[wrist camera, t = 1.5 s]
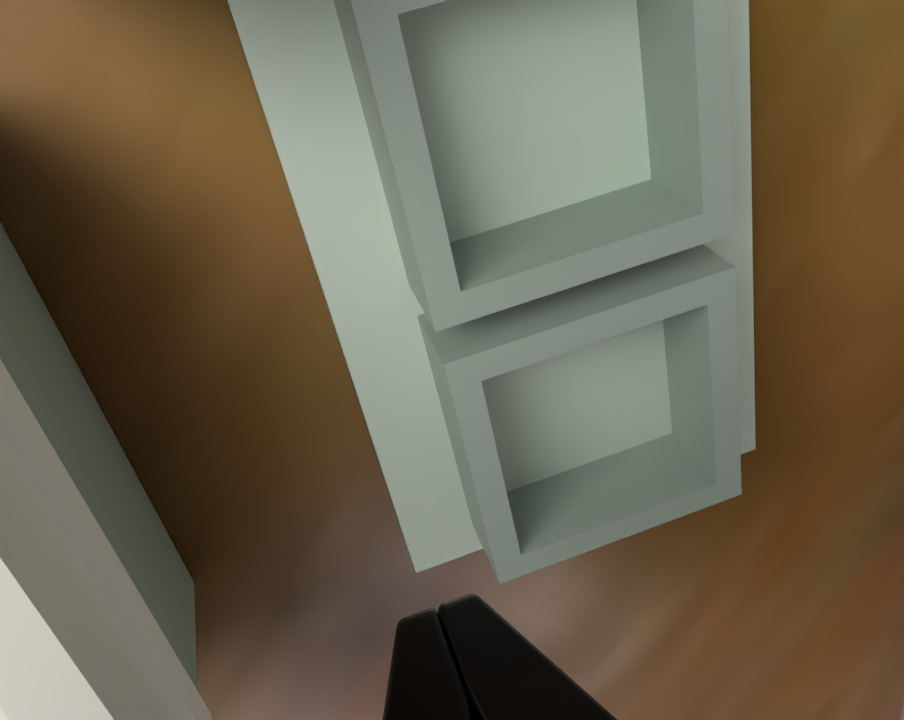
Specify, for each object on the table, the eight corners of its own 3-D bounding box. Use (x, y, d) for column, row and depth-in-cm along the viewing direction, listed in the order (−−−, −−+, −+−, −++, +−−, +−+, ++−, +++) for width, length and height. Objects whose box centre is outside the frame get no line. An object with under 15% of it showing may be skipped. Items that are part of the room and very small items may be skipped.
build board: (729, 422, 22) (804, 498, 20) (404, 539, 21) (437, 636, 19) (707, -202, 15) (823, -217, 12) (203, -72, 14) (211, -56, 11)
